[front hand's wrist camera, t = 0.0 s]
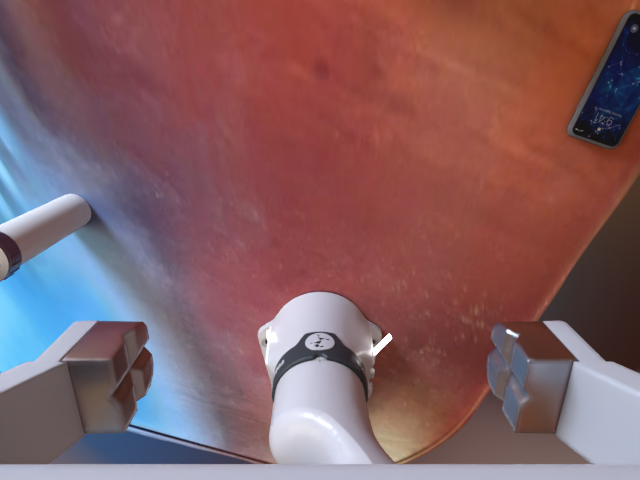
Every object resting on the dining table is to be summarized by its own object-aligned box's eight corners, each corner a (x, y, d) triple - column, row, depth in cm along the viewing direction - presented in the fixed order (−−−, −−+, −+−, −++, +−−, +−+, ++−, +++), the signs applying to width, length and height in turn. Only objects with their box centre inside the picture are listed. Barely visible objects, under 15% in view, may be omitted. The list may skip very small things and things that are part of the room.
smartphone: (685, 27, 50) (616, 151, 55) (678, 28, 51) (611, 150, 56) (629, 6, 49) (565, 134, 54) (624, 7, 50) (561, 133, 55)
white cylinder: (93, 199, 58) (10, 245, 43) (89, 230, 60) (7, 285, 44) (58, 189, 58) (-39, 231, 42) (55, 220, 60) (-40, 272, 44)
